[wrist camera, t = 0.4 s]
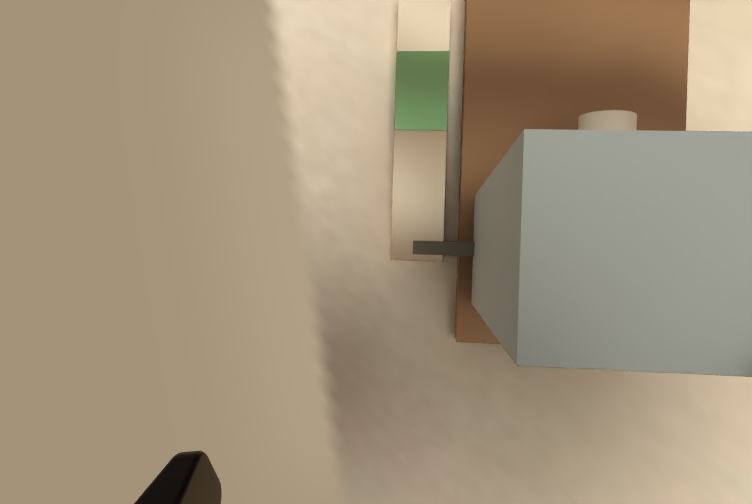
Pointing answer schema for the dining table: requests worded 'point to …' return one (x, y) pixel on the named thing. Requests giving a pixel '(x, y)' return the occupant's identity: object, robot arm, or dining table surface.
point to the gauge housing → (519, 98)
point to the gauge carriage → (617, 248)
